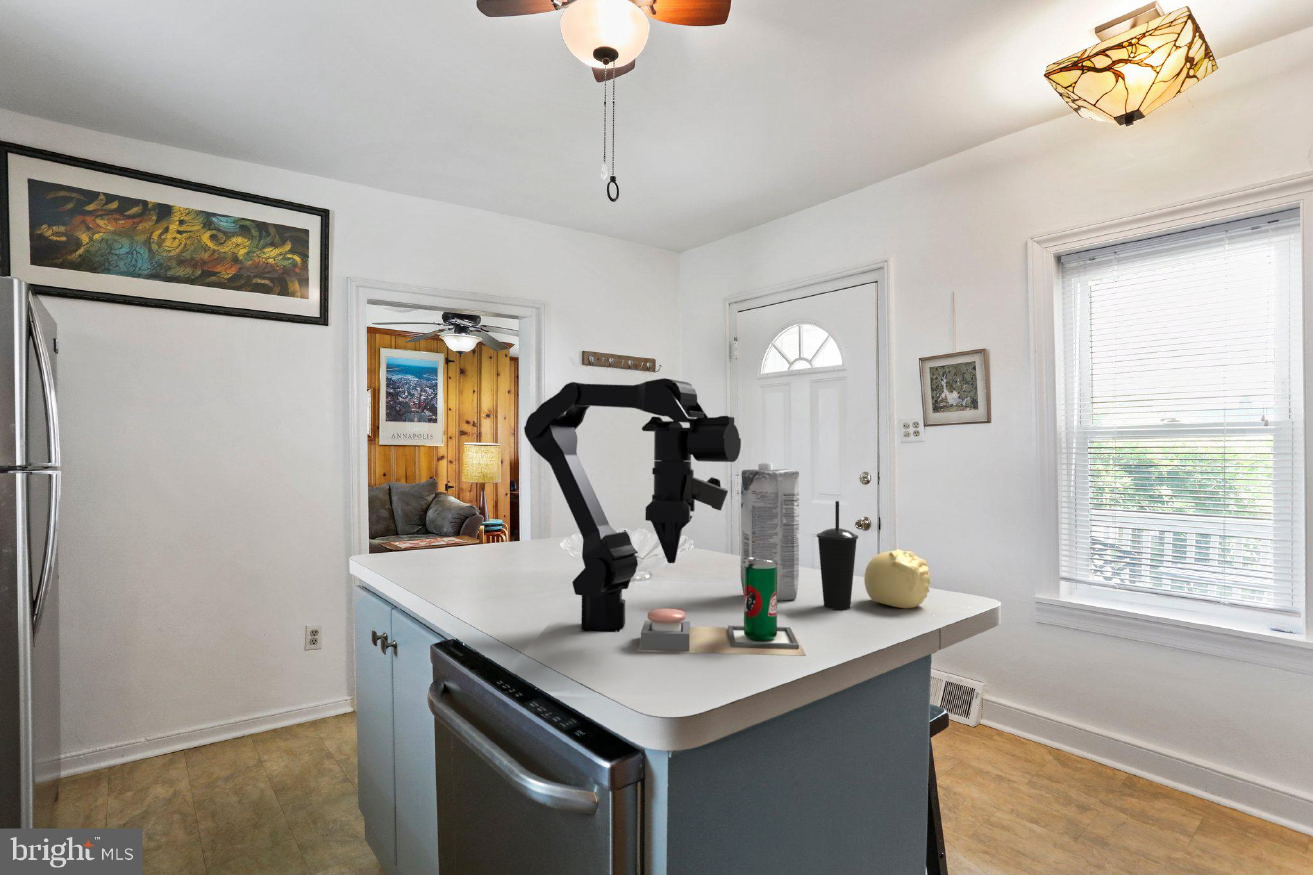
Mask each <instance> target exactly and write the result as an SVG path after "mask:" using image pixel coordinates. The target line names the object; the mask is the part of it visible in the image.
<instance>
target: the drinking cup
mask: <svg viewBox="0 0 1313 875" xmlns="http://www.w3.org/2000/svg"><path fill="white" fill-rule="evenodd" d="M834 504H835V511H834V512H835V519H834V520H835V522H834V524H835V527H833V528H827V529H825V530H822V531H821V532H818V533H816V538H817V542H818V551H819V552H818V553H819V564H820V575H821V576H820V578H821V588H822V598H823V607H824V608H826V609H830V610H837V611H843V610H849V609H850V608H851V604H852V603H851V602H852V591H853V584H854V582H853V581H854V571H855V561H856V551H857V541H858V539H859V535H858V534H856V533H853V532H852V531H850V530H849V529H848V530H847V529H844V528H840V500H836V501H835V502H834Z"/></svg>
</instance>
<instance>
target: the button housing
mask: <svg viewBox="0 0 1313 875" xmlns="http://www.w3.org/2000/svg"><path fill="white" fill-rule="evenodd" d="M690 627H691V621H688V620H687V621H684V620H683V621H681V632H670V631H652V621H651V620H649V619H647V620H644V622H643V625H642V628H641V631H640V640H641V650H656V651H689V648H690Z"/></svg>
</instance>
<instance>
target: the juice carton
mask: <svg viewBox="0 0 1313 875" xmlns="http://www.w3.org/2000/svg"><path fill="white" fill-rule="evenodd" d="M757 468H758V469H742V470H741V483H740V484H741V485H740V583H741V588H742V593H743V594H744V565H745V564H746V562H747V561H746V559H748V558H754V557H762V558H771V559H774V560H775V562H774V563H775V565H776V566H777V602H779V601H793V600H796V599H797V595H798V591H799V590H798V589H799V580H800V576H799V574H800V489H799V488H800V487H799V486H800V484H799V483H800V480H799V476H800V472H799V471H798V470H793V469H773V463H771V462H768V463H767V462H766V463H758V467H757Z"/></svg>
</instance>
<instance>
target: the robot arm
mask: <svg viewBox="0 0 1313 875" xmlns="http://www.w3.org/2000/svg"><path fill="white" fill-rule="evenodd" d="M590 407H602V408H604V407H605V408H621V409H622V408H623V409H624V408H625V409H636V410H639V411H642V412H644V413H649V414H652V415H654V416H651V418H650V419H649V420H648V421H647V422H646V423H645V424H643V426H641V430H642V432H648V433H649V432H651V433H652V432H653V433H654V434H653V436H654V437H653V438H654V439H653V442H654V443H653V444H654V445H653V446H654V447H653V448H654V449H653V452H654V453H653V467H652V469H651V470H652V473H651V474H652V475H653V494H652V495H651V501H650V502H649V504H647V506H645V521H647V522H651V524H652V526H653V529H654V531H655V533H656V536H657V539H658V542H659V544H660V546H661V549H662V551H663V554H664V556H665V558H666V561H667V563H668V564H675V563H676V562H677V561H676V560H677V556H678V550H679V547H680V541H681V536H682V531H683V529H684V528H685V527H686V526H687V525H688V524H689V523H690V522H691V521H692V518H693V515H691V512H693V513H694V512H695V509H696V508H695V506H696V505H695V503H696V501H697V502H700V503H702V504H703V505H704V504H705V505H707V506H710V507H711V508H712V509H714V510H717V511H722V510H723V509H722V508H723V505H724V503H725V500H726V497H727V496H728V494H729V490H728V489H727V488H724V487H721V480H720V478H716V477H713V476H711V477H709V479H708V480H706V481H705V480H703V479H701V478H700V479H699V478H697V477H695V476H694V469H693V467H692V457H693V459H694V460H695V461H697V462H706V463H707V462H708V463H709V462H710V463H711V462H712V463H713V462H715V463H735V462H736V461H737V460H738V458H739V456H740V453H741V448H742V447H741V445H742V440H741V439H742V438H741V437H740V433H739V430H738V428H737V426H736V424H735V417H734V416H732V415H720V416H716V417H715V416H714V417H713V416H712V417H709V415H708V413H707V412H706V411H705V409H704V407H703V406H702V404H701V403H700V401H699V400H698V394H697V391H696V388H695V387H694V386H693V385H692V384H691V383H689V382H687V381H683V380H676V379H671V378H665V377H664V378H657V379H652V380H648V381H646V380H645V381H644V382H641V383H639V384H608V383H607V384H603V383H582V382H576V381H570V382H568V383H566V384H565V385H563V386H562V388H561V389H560V390H559V391H558V392H557V393H556V394H555V395H553V396H551V397H550V398H548V399H546V400H545V401H544V402H542V403H541V404H540V405H539V406H538V408H536V410H535V411H533V412H531V413H530V415H529V416H527V420H526V422H525V426H524V427H523V430H524V435H525V437H526V439H527V441H528V442H529V444H530V445H531V447H532V448H533V450H534V451H535V452H536V453H537V454H538V455H539V456H540V457H541V458H542V459H544V460H545V461H546V462H547V463H548V464H549V466H550V467H551V470H552V472H553V475H554V477H555V479H556V481H557V483H558V485H559V488H560V490H561V492H562V495H563V496H564V499H565V502H566V503H567V505H568V508H569V510H570V512H571V515H572V518H573V519H574V521H575V523H576V525H577V529H578V530H579V532H580V535H581V537H582V552H581V558H582V561H583V565H584V568H583V569H582V570H581V572H580V573H579V574H578V575H577V576H576V577H575V578H574V579H573V581H572V586H573V591H574V594H575V595H576V596H581V614H580V615H581V619H580V620H581V627H580V628H579V630H578V631H579V632H587V633H588V632H589V633H591V632H593V633H594V632H596V633H619V632H620V631H621V629H623V628H625V625H626V599H624V598H623V590H628V589H629V585H630V583H631V580H632V578H633V577H634V576H635V574H636V572H637V567H638V566H639V563H638V562H639V561H638V559H637V558H638V557H637V554H638V550H637V549H636V548H635V547H634V545H633V543H632V541H631V537H630V535H629V533H628V532H627V531H626V530H625V531H621V532H617V531H616V530H615V529H614V528H613V527H612V526H611V524H610V523H609V521H608V518H607V517H606V514H605V511H604V510H603V508H602V506H601V504H600V503H601V502H600V501H599V499H598V497H597V495H596V492H595V490H594V488H593V486H592V484H591V482H590V479H589V478H588V475H587V473H586V471H585V468H584V467H583V464H582V461H581V460H580V458H579V456H578V453H577V448H578V440H579V439H578V438H579V437H578V435H577V431H576V430H577V429H578V427H580V425H581V424H582V423H583V421H584V419H585V415H586V414H587V413H586V412H587V410H589V408H590ZM655 415H656V416H655ZM661 417H668V418H669V419H670V420H663V419H662V418H661ZM682 423H683V424H684V423H685V424H688V425H689V426H688V427H683V425H682Z"/></svg>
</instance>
